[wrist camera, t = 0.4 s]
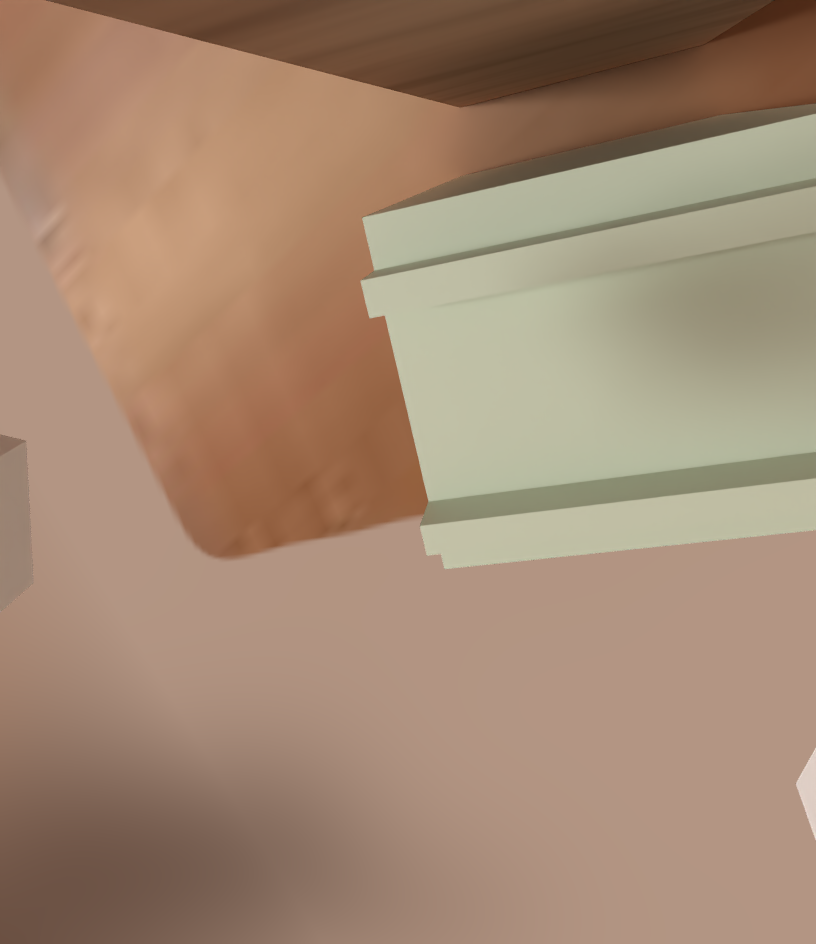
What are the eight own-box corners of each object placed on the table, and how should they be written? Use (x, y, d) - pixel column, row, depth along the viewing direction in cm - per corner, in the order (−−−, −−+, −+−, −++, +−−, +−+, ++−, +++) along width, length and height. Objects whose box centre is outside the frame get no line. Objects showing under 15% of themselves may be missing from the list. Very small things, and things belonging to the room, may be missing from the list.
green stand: (462, 175, 38) (346, 224, 18) (721, 114, 35) (942, 87, 15) (498, 370, 41) (436, 596, 21) (736, 330, 38) (930, 549, 18)
